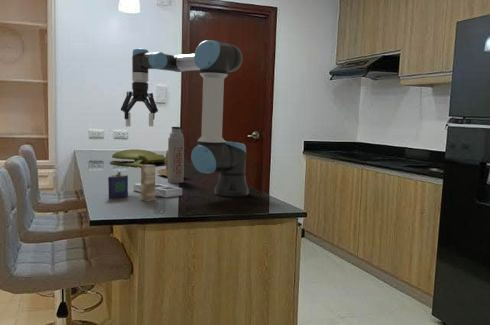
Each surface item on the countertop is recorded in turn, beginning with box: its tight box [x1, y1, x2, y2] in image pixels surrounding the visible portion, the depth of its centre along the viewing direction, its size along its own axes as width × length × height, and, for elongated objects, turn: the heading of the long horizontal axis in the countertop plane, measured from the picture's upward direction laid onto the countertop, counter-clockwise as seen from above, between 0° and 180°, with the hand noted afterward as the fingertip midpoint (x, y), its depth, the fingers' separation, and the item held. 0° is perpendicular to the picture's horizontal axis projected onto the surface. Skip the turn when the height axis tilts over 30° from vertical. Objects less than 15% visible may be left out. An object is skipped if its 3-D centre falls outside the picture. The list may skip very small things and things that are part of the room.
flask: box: [107, 171, 129, 200], centre depth 188 cm, size 9×3×11 cm, turn 144°
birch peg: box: [140, 164, 156, 202], centre depth 186 cm, size 4×4×14 cm
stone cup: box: [156, 149, 168, 178], centre depth 255 cm, size 15×12×15 cm
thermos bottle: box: [167, 126, 185, 184], centre depth 235 cm, size 8×8×28 cm
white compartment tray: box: [133, 182, 183, 198], centre depth 203 cm, size 22×9×3 cm, turn 50°
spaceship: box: [109, 148, 166, 169], centre depth 309 cm, size 35×31×10 cm
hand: (139, 126), depth 225 cm, fingers open, 13 cm apart
